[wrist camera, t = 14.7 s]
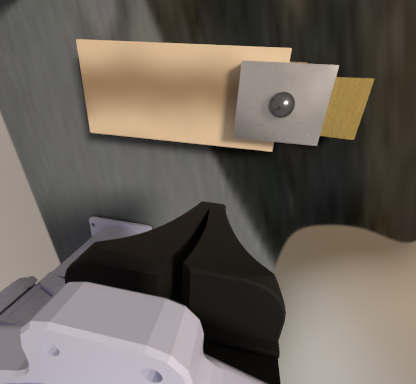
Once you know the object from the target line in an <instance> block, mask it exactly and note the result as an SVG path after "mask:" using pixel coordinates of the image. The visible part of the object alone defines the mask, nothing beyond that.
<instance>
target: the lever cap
mask: <svg viewBox="0 0 416 384" xmlns="http://www.w3.org/2000/svg"><path fill="white" fill-rule="evenodd" d="M338 68H339V65H324V64H304V63H284V62H264V61H244V60H242V63H241V72H240V81H239V89H238V98H237V107H236V116H235V125H234V134H233V138H242V139H252V140H262V141H272V142H282V143H292V144H302V145H312V146H317V145H318V141H319V137H320V134H321V130H322V126H323V123H324V119H325V115H326V112H327V108H328V104H329V101H330V97H331V93H332V90H333V86H334V82H335V79H336V75H337V71H338Z"/></svg>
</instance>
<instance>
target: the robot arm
mask: <svg viewBox="0 0 416 384" xmlns="http://www.w3.org/2000/svg"><path fill="white" fill-rule="evenodd" d="M225 209H226V206H225V205H224V204H217V203H210V202H203V201H202V202H201V203H199V204H198V205H197V206H195V207H194V208H192V209H191V210H189V211H188V212H187V213H185V214H183V215H182V216H180V217H178V218H177V219H175V220H173V221H171V222H169V223H167V224H165V225H163V226H160V227H158V228H155V229H152V227H151V226H149V225H144V224H138V223H132V222H126V221H120V220H114V219H107V218H101V217H95V216H92V217H90V218H89V224H90V229H91V234H92V237H91V238H90V239H89V240H88V241H87V242H86V243H84V244H83V245H82V246H81V247H80V248H79V249H78V250H76V251H75V252H74V253H73V254H72V255H71V256H70V257H68V258H67V259H66V260H65V261H64V262H63V263H62V264H60V265H59V266H58V267H57V268H56V269H55V270H54V271H53V272H50V273H49V274H48V275H47V276H46V277H44V278H43V279H42V280H41V281H40V282H38V283H37V284H35V282H36V281H37V279H36V278H35V277H33V276H31V277H29V278H20V279H18V280H16V281H15V282H13V283H12V284H11V285H9V286H8V287H7V288H5V289H4V290H3V291H2V292H0V384H280V376H279V367H278V358H279V344H278V340H279V337H280V334H281V331H282V328H283V324H284V321H285V313H286V311H285V305H284V301H283V297H282V294H281V291H280V288H279V285H278V282H277V280H276V277H275V275H274V274H273V273H272V272H271V271H269V270H268V269H267V268H265V267H264V266H263V265H261V264H260V263H259V262H257V261H256V260H255V259H254V258H253V257H252V256H251V255H250V254H249V253H248V252H247V251H246V250H245V248H244V247H243V246H242V245H241V243H240V242H239V240H238V239H237V237H236V236H235V234H234V232H233V230H232V228H231V226H230V224H229V221H228V218H227V215H226V210H225ZM93 223H94V224H95V225H94V224H93Z"/></svg>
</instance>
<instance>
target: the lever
mask: <svg viewBox="0 0 416 384" xmlns="http://www.w3.org/2000/svg"><path fill="white" fill-rule="evenodd" d="M373 82H374V79H371V78H344V77H336V79H335V82H334V86H333V90H332V93H331V97H330V101H329V104H328V108H327V112H326V115H325V119H324V123H323V126H322V130H321V134H320V136H325V137H334V138H342V139H351V140H354V138H355V135H356V132H357V129H358V126H359V123H360V120H361V117H362V114H363V111H364V108H365V105H366V102H367V100H368V97H369V94H370V91H371V88H372V85H373Z"/></svg>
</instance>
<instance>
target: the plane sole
mask: <svg viewBox="0 0 416 384" xmlns="http://www.w3.org/2000/svg"><path fill="white" fill-rule="evenodd" d="M76 42H77V49H78V55H79V62H80V69H81V75H82V82H83V88H84V95H85V101H86V108H87V115H88V121H89V128H90V133H99V134H108V135H118V136H127V137H137V138H146V139H156V140H165V141H175V142H184V143H194V144H203V145H213V146H222V147H232V148H241V149H251V150H260V151H270V152H272V150H273V145H274V142H272V141H262V140H252V139H242V138H233V134H234V125H235V116H236V107H237V98H238V89H239V81H240V72H241V63H242V60H244V61H264V62H284V63H304V64H307V62H289V61H290V56H291V51H292V48H275V47H251V46H227V45H203V44H179V43H155V42H130V41H106V40H82V39H76ZM280 143H282V142H280Z"/></svg>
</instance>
